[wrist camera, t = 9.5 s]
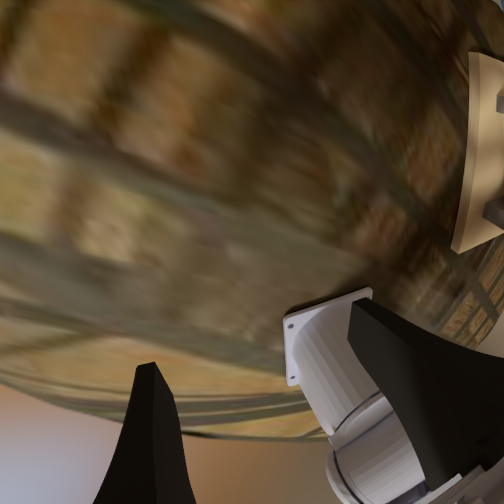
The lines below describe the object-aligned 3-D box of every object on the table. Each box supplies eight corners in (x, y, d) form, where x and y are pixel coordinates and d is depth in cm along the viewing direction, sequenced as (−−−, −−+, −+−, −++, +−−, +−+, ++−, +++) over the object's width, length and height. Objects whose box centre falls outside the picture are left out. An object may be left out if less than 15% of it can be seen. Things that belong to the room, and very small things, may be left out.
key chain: (528, 51, 18) (533, 52, 18) (505, 68, 19) (511, 70, 18) (488, -57, 10) (494, -58, 10) (456, -58, 11) (463, -59, 10)
